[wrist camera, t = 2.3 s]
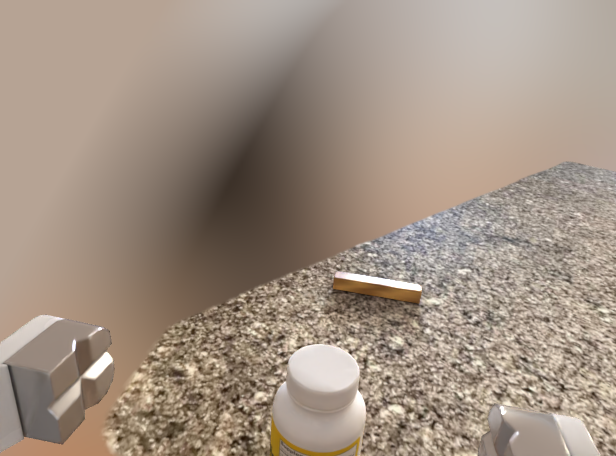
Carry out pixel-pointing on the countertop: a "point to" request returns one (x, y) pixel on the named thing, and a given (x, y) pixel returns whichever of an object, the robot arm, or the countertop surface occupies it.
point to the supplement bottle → (318, 405)
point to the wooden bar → (377, 287)
